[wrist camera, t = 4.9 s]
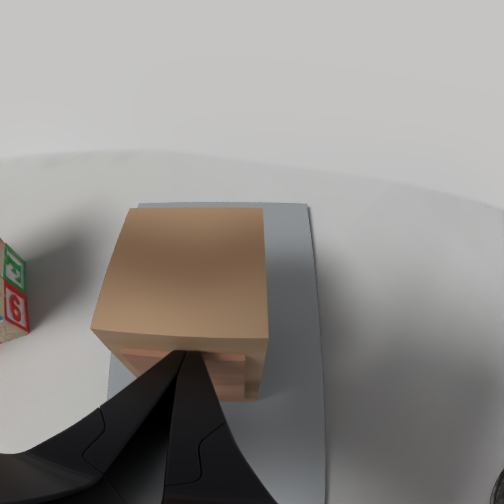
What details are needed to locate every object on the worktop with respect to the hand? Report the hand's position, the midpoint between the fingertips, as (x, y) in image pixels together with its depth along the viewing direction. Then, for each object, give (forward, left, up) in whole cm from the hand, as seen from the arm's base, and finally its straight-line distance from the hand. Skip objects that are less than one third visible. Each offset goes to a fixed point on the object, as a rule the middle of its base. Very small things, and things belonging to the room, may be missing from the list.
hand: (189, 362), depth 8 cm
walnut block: (+1, 0, -7) cm, 7 cm away
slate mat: (+2, 0, -8) cm, 8 cm away
